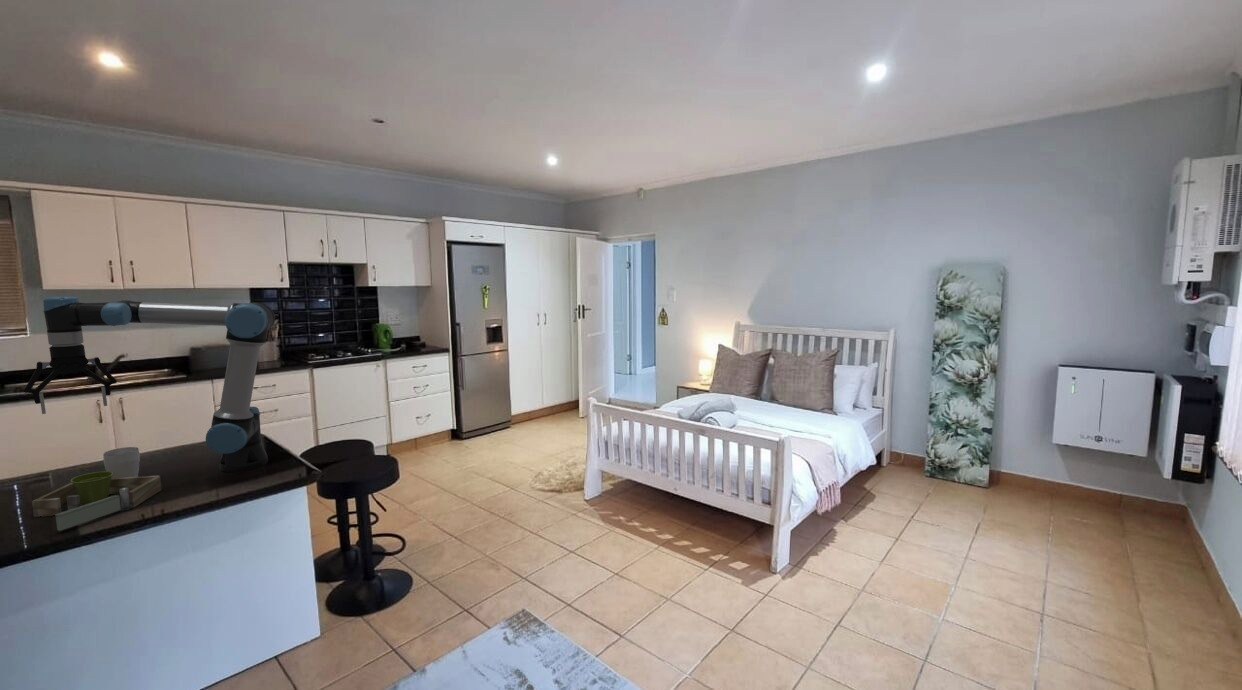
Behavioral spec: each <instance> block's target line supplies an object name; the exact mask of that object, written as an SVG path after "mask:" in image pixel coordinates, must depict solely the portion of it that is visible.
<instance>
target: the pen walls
mask: <svg viewBox="0 0 1242 690" xmlns="http://www.w3.org/2000/svg"><path fill="white" fill-rule="evenodd" d="M123 487H128V490H129V500H130V508H135V507H137V506H138V505H139V504H140V505H141V503H143V502H145V501H146V500H148V499H149V498H151V497H153V496H154V495H157V493H159V492H161V491H162V482H161V476H160V475H147V476H146V475H144V476H143V475H141V476H138V477H124V478H111V480H110V486H109V495H113V494H114V495H117V494H120V492H119V489H120V488H123ZM65 504H66V505H67V510H70V509H74V508H77V507H80V506H81V504H80V497H79V495H78V494H77V491H76V488H75V486H74V485H73V483H71V482H69V483H67V484H65V485H63V486H61V487H59V488H56V489H54V490H52V491H51V492H48V493H46V494H43V495H42V496H39V497H38V498H36V499H33V500H32V501H31V505H32V512H33V513H32V514H33V518H37V517H39V518H40V516H41V517H52V516H53V515H55V514H58V513H61V512H63V511H62V505H65ZM53 517H54V516H53Z"/></svg>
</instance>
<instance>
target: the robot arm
mask: <svg viewBox="0 0 1242 690" xmlns="http://www.w3.org/2000/svg"><path fill="white" fill-rule="evenodd" d="M42 302H43V311H42V312H43V315H44V318H45V319H44V320H45V326H46V335H47V341H48V345H49V346H50V347H49V348H48V349H49V355H50V361H48V362H47V361H37V362H36V367H35V369H34V370H35V371H34V372H33V374H32V376H31V377H30V379H29V380H28V382H27V384H26V385H25V387H24V389H23V393H25V394H31V395H33V400H34V403H35V404H36V405H38V404H40V408H41V409H40V410H41V414H42V415H45V414H46V413H47V412H46V405H45V404H46V403H45V398H44V392H43V391H42V390H44V388H46V386H48V385H49V383H50V382H52V381H53V380H54V379H55V378H56V377H57V376H59V374H61V375H62V374H63V375H69V374H78V373H81V372H83V373H84V374H85V375H87V376H89V377H90V378H92V379H94V380H95V381H97V382H98V383H100V384H101V387H100V388H101V396H102V402H103V403H102V404H103V406H104V407H107V406H108V401H107V397H108V396H111V395H112V394H111V385H114V384H117V382H118V381H117V379H116V378H115V377H114V376H113V375H112V374H111V373H110V371H108V369H106V367H105V366H104V365H103V364H102V362H101V359H100V358H99V357H98V356H95V357H92V358H87V357H86V351H85V349H86V348H85V345H84V344H83V343H84V335H83V328H82V327H88V326H89V327H92V326H93V327H95V326H96V327H98V326H104V327H105V326H107V327H108V326H109V327H110V326H111V327H115V326H126V325H128V324H129V323H130V324H134V323H135V324H164V325H166V324H168V325H169V324H170V325H171V324H172V325H193V326H194V325H195V326H221V327H226V329H227V330H226V336H225V340H227V342H229V352H228V357H227V363H226V369H225V374H224V375H225V376H224V381H223V386H222V393H221V398H220V399H221V400H220V405H219V408H218V409H217V410H216V411H214V412H213V414H212V419H211V426H210V428H209V429H208V430H207V432H206V434H205V443H206V445H207V447H208V448H210V450H212V451H213V452H215V453H218V454H221V456H220V460H219V466H218V467H219V470H220V471H221V472H228V473H237V472H246V471H250V470H255V469H257V468H260V467H262V466H264V465H266V464H268V462H269V457H268V454H267V452H266V450H265V448H264V446H263V443H262V435H261V434H262V433H261V419H260V415H261V413H260V409H259V408H258V407H257V406H251V402H252V397H253V390H254V385H255V377H256V374H257V373H256V372H257V367H258V362H259V355H260V354H259V353H260V349H261V347H262V346H264V345H265V344H266V343H267V337H268V332H269V330H270V329H271V328H273V326H274V324H275V321H276V317H275V313H274V311H273V309H272V308H271V307H270V306H269V305H266V304H265V303H262V302H257V301H255V302H254V301H253V302H244V303H239V302H238V303H237V302H233V303H231V304H230V305H221V304H203V303H202V304H200V303H198V304H197V303H181V302H180V303H178V302H177V303H176V302H174V303H173V302H158V301H157V302H155V301H152V302H150V301H134V300H127V299H126V300H118V301H108V302H80V301H79V298H78V297H76V296H47V297H45V298H44V299H43V301H42ZM88 363H91V364H92V365H94V366H96V367H97V368H98V369H99V371H101V372H102V374H103V375H104V376H105V377H106V378H107V379H108V381H107V380H105V379H104V378H102V377H101V376H99V375H98V374H96V373H95V372H93V371H92V370H90V369H89V368H87V365H88ZM48 366H50V367H51V368H52V369H53V370H52V371H51V373H50V374H49V375H48V376H46V377H45V378H44V379H43V381H41V382H40V383H39V384H38V385H37V386H36V387H35V388H33V387H34V385H35V384H36V382H37V380H38V378H39V377H40V375H41V374H42V371H43V370H44V369H47V367H48Z"/></svg>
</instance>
